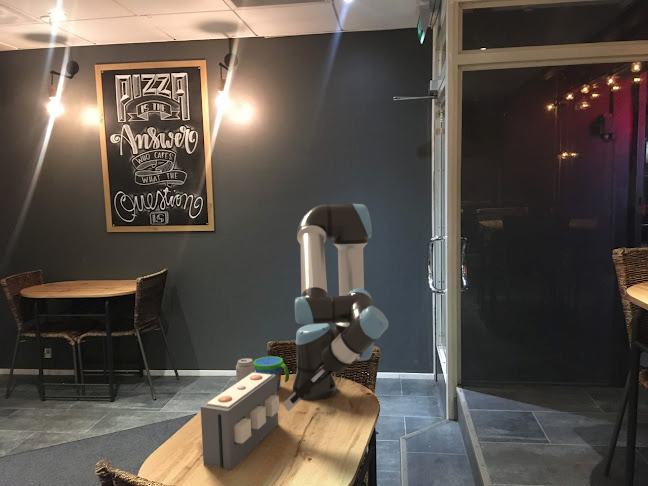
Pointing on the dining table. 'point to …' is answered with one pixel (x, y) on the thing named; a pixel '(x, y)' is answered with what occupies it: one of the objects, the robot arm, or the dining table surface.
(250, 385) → the pattern card
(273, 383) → the console
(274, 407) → the button arm side
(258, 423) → the button middle
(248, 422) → the button edge side
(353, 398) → the dining table surface
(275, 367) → the snack cup
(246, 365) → the energy drink can
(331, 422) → the dining table surface
